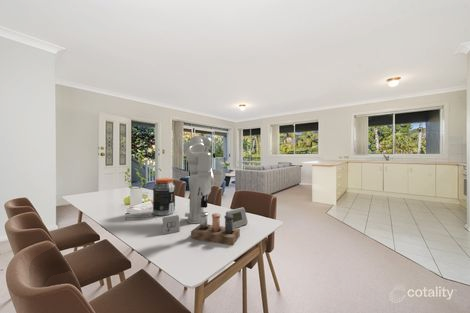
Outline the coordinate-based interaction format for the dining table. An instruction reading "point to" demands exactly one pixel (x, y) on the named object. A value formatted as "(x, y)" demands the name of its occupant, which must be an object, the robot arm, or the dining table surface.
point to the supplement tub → (164, 197)
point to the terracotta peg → (216, 222)
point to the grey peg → (203, 220)
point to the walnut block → (215, 235)
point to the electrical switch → (171, 224)
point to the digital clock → (238, 217)
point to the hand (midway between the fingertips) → (204, 207)
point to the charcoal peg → (228, 224)
